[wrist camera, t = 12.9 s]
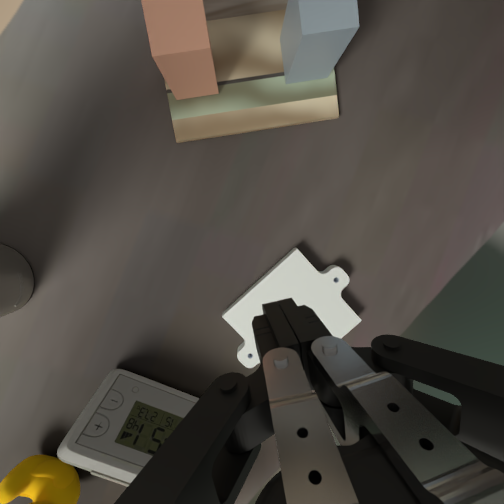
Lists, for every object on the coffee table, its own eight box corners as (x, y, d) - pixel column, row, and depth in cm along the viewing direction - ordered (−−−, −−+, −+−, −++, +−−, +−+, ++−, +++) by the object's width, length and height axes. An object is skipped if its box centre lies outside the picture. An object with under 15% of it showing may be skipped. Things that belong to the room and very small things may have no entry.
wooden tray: (337, 118, 34) (350, 105, 30) (177, 143, 34) (168, 133, 30) (323, -7, 32) (335, -40, 28) (153, 18, 32) (140, -11, 28)
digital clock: (227, 407, 39) (223, 478, 28) (191, 454, 40) (173, 541, 29) (129, 345, 37) (85, 396, 27) (93, 396, 38) (36, 465, 27)
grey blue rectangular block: (327, 77, 33) (359, 26, 24) (285, 84, 33) (302, 35, 24) (322, 32, 32) (353, -39, 23) (279, 38, 32) (294, -31, 23)
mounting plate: (272, 387, 39) (274, 395, 37) (209, 323, 38) (207, 329, 36) (369, 303, 38) (376, 307, 36) (308, 234, 36) (312, 235, 34)
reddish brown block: (218, 93, 32) (210, 48, 24) (176, 100, 32) (152, 56, 23) (211, 47, 32) (199, -18, 23) (168, 54, 32) (139, -9, 23)
